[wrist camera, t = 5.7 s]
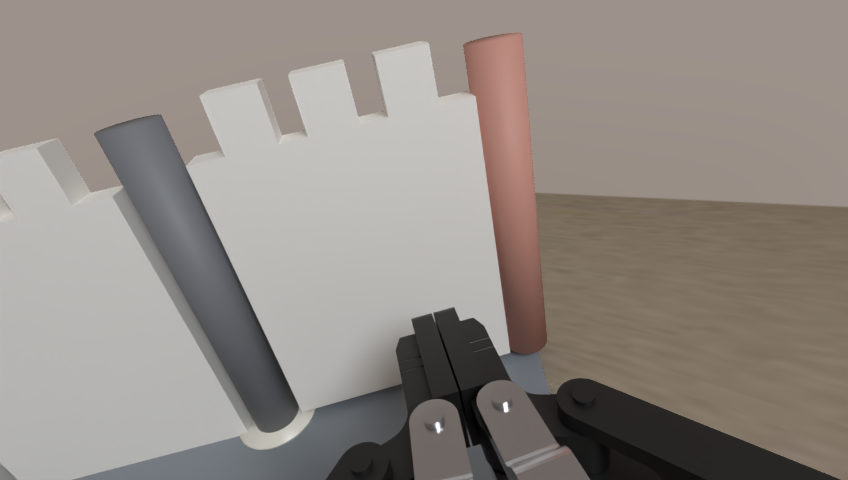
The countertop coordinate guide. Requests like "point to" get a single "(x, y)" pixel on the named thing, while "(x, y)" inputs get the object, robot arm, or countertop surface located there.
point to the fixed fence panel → (121, 315)
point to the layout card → (312, 439)
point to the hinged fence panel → (379, 213)
